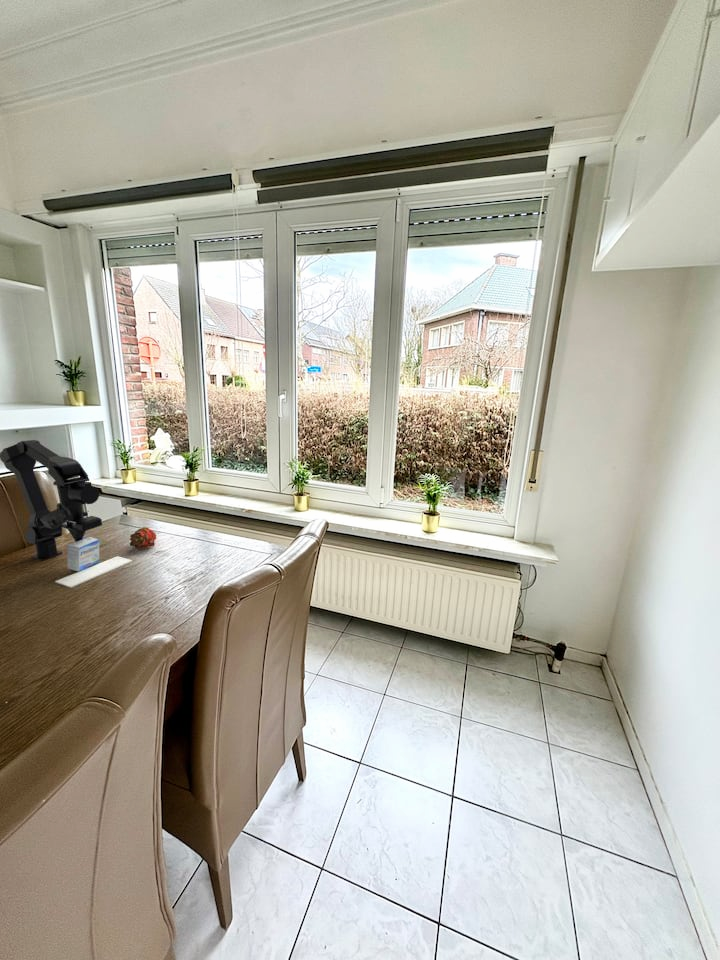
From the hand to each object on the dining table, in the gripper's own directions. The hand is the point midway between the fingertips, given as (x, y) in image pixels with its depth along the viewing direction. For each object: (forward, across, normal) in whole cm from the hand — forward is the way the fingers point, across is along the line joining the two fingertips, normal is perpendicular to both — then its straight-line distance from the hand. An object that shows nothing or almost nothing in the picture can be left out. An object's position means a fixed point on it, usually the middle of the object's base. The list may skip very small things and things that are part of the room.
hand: (79, 543), depth 126 cm
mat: (+8, +8, -1) cm, 11 cm away
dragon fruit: (+9, +5, +19) cm, 22 cm away
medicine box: (+7, +2, -1) cm, 8 cm away
